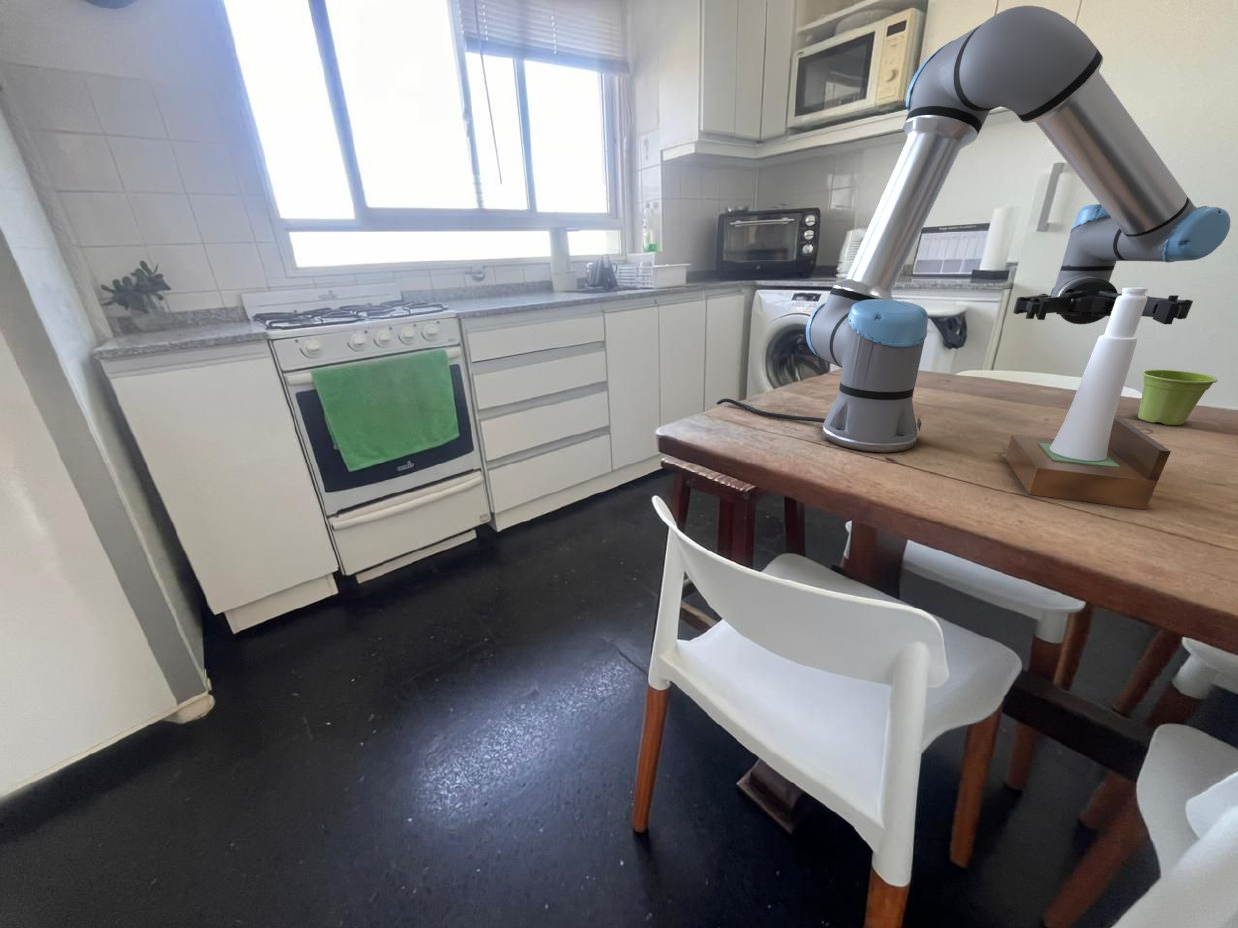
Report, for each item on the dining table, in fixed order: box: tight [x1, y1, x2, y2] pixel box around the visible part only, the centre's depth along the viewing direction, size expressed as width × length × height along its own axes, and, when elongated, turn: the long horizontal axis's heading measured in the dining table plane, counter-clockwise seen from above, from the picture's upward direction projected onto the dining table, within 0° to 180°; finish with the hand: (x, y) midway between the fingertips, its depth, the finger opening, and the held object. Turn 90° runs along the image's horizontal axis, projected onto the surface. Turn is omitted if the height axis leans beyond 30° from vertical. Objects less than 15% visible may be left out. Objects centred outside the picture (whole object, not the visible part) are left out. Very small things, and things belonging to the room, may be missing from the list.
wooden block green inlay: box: [1004, 417, 1172, 510], centre depth 69 cm, size 12×14×8 cm
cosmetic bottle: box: [1050, 286, 1149, 461], centre depth 65 cm, size 6×6×22 cm
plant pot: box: [1137, 369, 1219, 426], centre depth 91 cm, size 9×9×9 cm
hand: (1104, 312), depth 71 cm, fingers open, 13 cm apart
